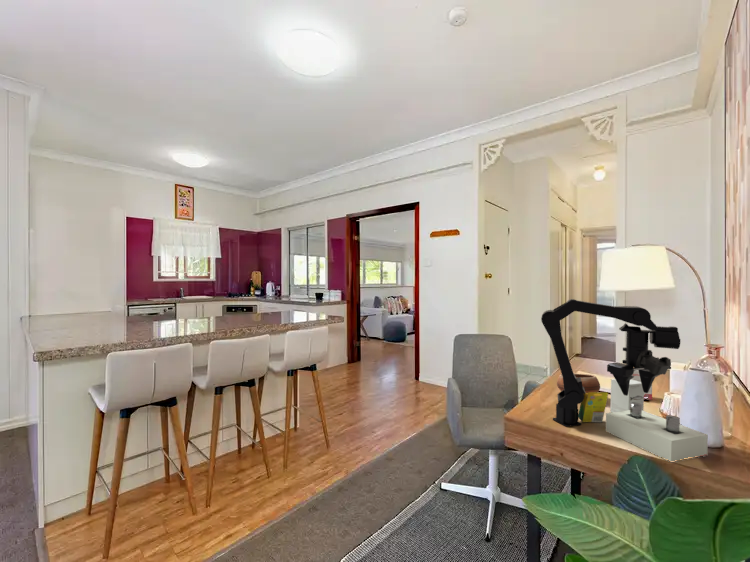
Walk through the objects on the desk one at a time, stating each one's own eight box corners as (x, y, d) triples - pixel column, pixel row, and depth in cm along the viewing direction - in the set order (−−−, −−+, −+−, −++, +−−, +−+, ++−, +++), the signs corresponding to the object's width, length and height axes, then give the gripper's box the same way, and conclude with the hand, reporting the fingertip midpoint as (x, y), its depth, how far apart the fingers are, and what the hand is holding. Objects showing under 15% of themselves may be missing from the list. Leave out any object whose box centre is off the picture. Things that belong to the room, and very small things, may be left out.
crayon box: (597, 417, 126) (604, 388, 123) (602, 422, 123) (609, 392, 120) (577, 417, 126) (583, 387, 123) (582, 422, 123) (588, 392, 120)
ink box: (644, 395, 151) (645, 368, 151) (652, 400, 146) (653, 371, 146) (622, 395, 152) (623, 367, 152) (630, 399, 147) (630, 370, 147)
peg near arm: (636, 423, 112) (637, 406, 112) (627, 420, 115) (627, 402, 115) (643, 422, 113) (644, 405, 113) (634, 419, 116) (635, 401, 116)
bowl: (577, 389, 159) (578, 367, 158) (609, 402, 144) (609, 377, 143) (548, 392, 155) (548, 369, 154) (577, 405, 139) (578, 380, 139)
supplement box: (628, 419, 126) (629, 384, 126) (609, 411, 133) (610, 378, 133) (644, 417, 128) (645, 382, 128) (624, 410, 135) (625, 377, 135)
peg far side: (674, 439, 102) (674, 419, 101) (663, 435, 104) (663, 415, 104) (681, 438, 102) (682, 418, 102) (670, 433, 105) (671, 414, 105)
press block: (671, 462, 97) (671, 440, 97) (605, 431, 116) (606, 413, 116) (707, 455, 101) (707, 434, 101) (638, 426, 120) (638, 409, 120)
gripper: (641, 352, 104) (640, 406, 104) (685, 349, 109) (683, 399, 110) (606, 345, 114) (605, 393, 115) (647, 342, 120) (646, 388, 120)
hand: (635, 394), depth 114 cm, fingers open, 9 cm apart
